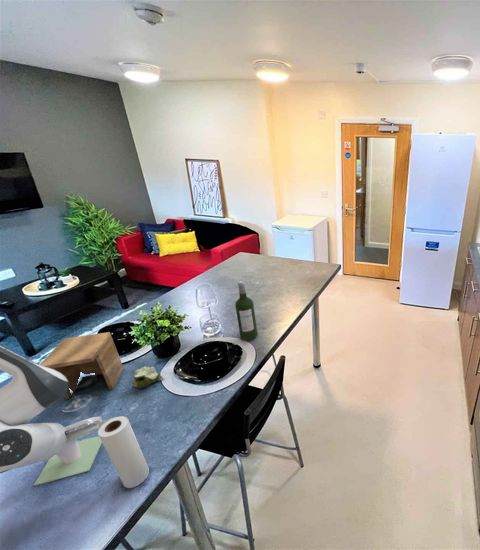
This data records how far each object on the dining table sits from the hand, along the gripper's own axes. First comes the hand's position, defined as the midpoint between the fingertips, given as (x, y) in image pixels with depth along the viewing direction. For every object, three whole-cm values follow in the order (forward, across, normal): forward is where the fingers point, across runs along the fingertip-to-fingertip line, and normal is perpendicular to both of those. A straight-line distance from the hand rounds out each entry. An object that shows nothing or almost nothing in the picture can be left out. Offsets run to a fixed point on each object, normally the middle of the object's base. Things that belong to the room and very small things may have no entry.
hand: (62, 439), depth 83 cm
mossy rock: (+23, -19, -10) cm, 32 cm away
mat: (+6, 0, +6) cm, 9 cm away
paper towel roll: (-6, -15, +18) cm, 24 cm away
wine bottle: (+29, -61, -16) cm, 70 cm away
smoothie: (+6, 0, +6) cm, 8 cm away
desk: (+29, -3, -17) cm, 34 cm away
